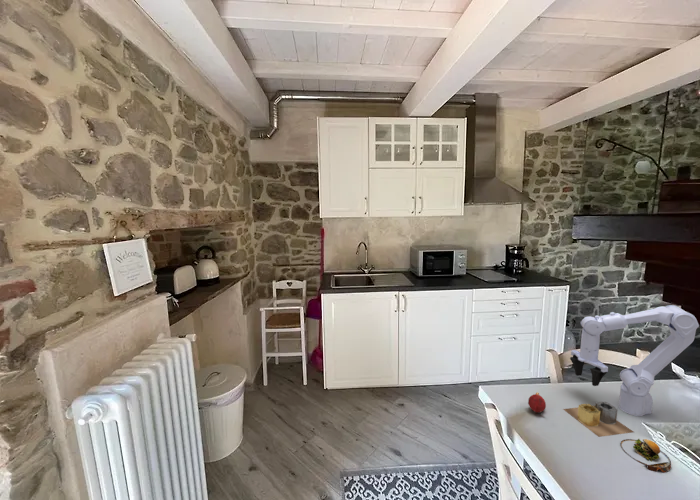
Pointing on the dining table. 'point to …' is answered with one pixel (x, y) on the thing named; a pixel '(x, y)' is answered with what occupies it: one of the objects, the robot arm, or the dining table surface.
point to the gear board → (601, 425)
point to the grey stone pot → (607, 412)
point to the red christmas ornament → (537, 403)
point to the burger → (650, 454)
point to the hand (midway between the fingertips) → (586, 380)
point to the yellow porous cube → (588, 414)
